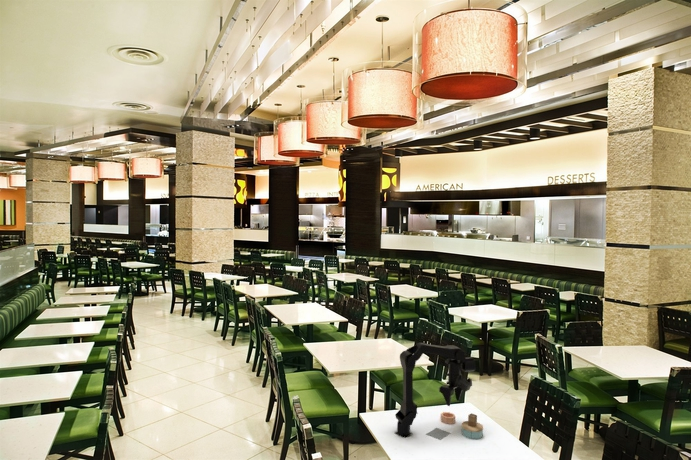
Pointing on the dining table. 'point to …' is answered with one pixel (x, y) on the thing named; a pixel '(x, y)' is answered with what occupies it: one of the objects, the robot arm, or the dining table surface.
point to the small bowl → (447, 418)
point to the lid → (472, 424)
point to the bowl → (472, 434)
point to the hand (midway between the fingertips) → (453, 403)
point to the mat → (438, 433)
